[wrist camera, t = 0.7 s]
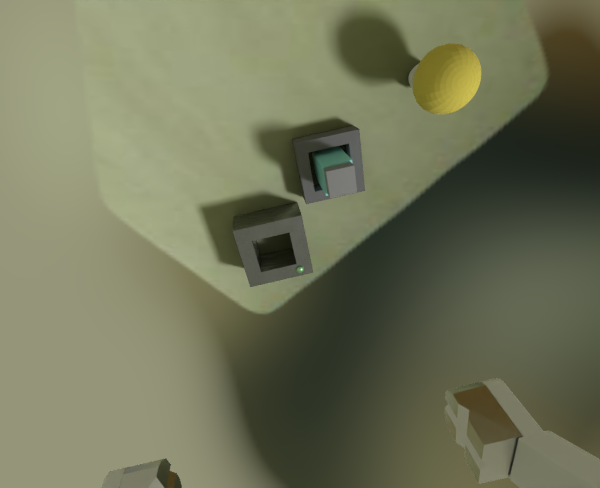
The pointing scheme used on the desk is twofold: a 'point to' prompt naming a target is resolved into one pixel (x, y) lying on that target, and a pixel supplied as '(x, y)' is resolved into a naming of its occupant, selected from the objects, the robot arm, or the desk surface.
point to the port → (269, 225)
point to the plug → (334, 172)
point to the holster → (323, 141)
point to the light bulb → (446, 78)
